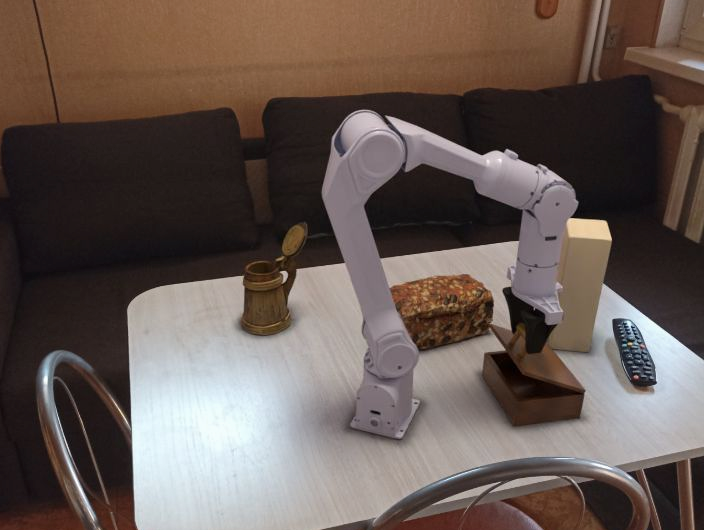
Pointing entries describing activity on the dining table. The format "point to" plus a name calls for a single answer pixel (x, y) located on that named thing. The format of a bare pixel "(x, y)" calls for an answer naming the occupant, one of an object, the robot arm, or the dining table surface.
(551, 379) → the box lid
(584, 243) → the beige tall block
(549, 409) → the trinket box
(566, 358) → the dining table surface
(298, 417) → the dining table surface
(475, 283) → the bread
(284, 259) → the wooden mug
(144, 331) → the dining table surface
